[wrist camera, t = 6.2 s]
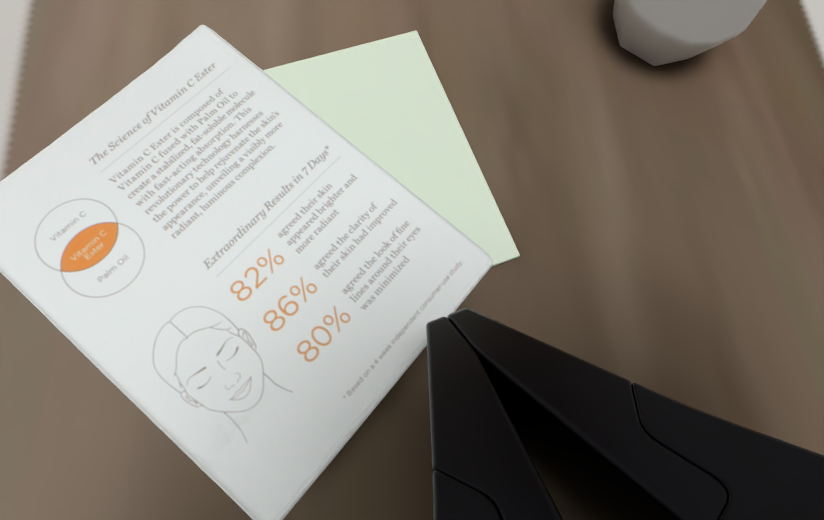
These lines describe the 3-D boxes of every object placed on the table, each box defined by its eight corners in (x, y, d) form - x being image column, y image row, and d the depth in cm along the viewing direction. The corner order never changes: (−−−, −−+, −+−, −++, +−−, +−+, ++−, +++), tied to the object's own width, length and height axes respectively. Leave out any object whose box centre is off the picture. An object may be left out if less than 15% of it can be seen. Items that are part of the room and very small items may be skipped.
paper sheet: (517, 257, 17) (520, 255, 17) (264, 350, 15) (262, 349, 15) (415, 35, 20) (416, 30, 19) (189, 95, 18) (186, 90, 18)
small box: (461, 300, 16) (258, 127, 17) (502, 259, 11) (203, 13, 12) (307, 483, 14) (90, 273, 15) (262, 546, 9) (-65, 214, 10)
